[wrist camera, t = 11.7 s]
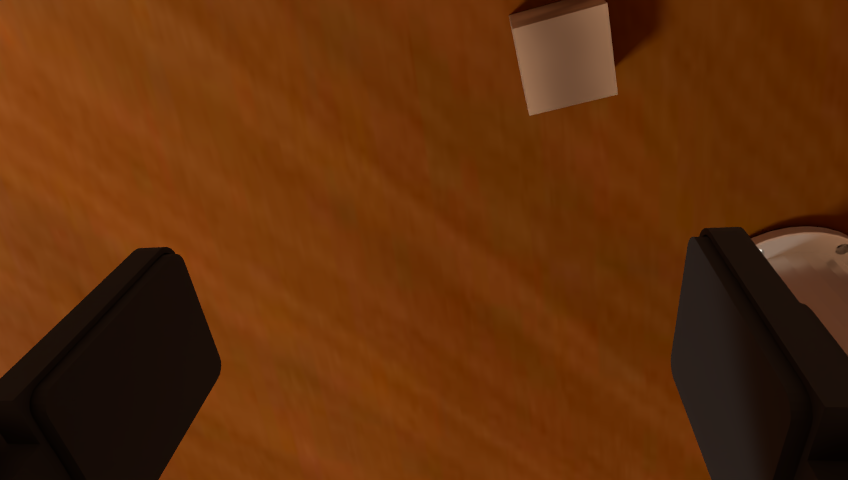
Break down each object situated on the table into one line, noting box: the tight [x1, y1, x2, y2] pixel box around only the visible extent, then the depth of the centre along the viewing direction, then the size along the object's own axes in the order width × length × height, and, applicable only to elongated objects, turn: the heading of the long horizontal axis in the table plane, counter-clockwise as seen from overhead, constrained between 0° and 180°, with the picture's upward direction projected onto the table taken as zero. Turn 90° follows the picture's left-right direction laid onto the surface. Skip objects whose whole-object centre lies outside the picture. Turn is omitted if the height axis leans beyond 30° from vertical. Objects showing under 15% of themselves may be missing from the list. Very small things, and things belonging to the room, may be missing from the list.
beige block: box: [509, 0, 618, 116], centre depth 33 cm, size 5×5×4 cm
